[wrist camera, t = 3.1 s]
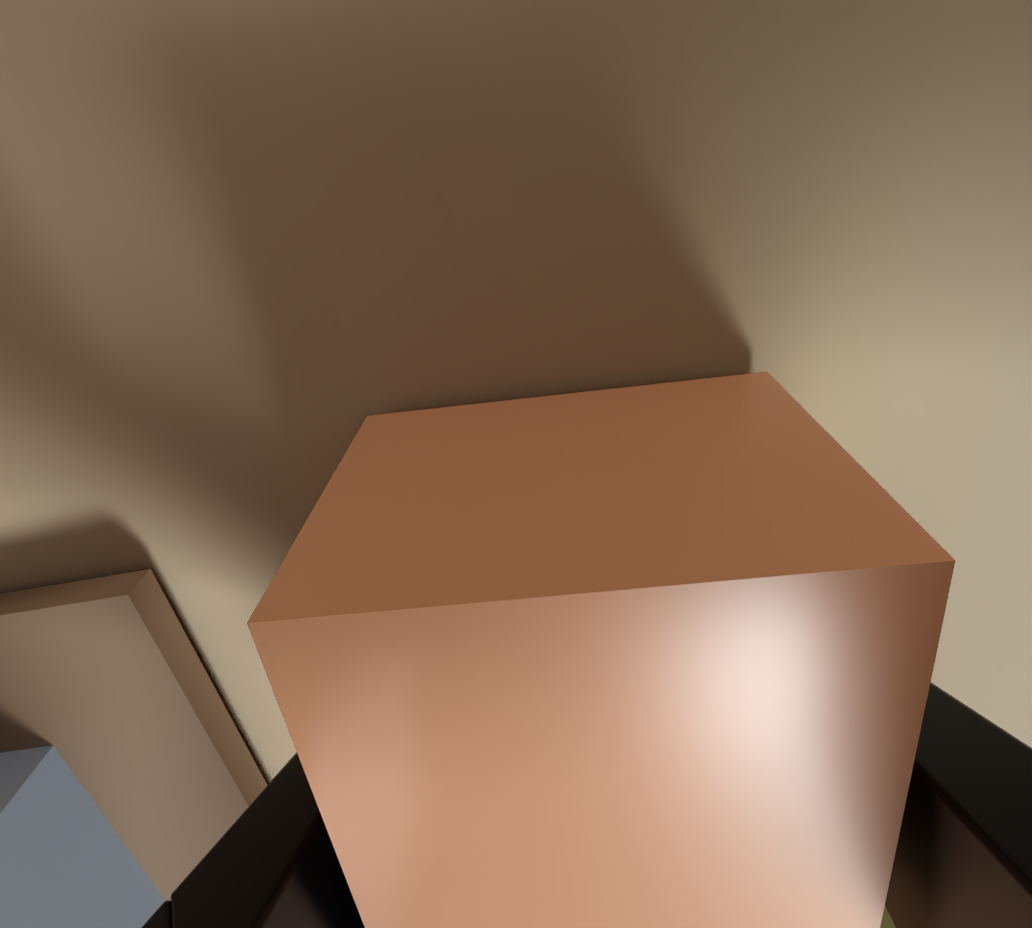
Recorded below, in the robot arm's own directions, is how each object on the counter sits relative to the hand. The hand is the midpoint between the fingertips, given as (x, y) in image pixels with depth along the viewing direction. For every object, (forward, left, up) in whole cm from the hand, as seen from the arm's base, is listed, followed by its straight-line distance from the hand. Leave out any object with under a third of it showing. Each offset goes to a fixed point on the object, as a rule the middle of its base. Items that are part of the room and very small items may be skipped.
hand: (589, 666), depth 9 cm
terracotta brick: (0, 0, -1) cm, 1 cm away
